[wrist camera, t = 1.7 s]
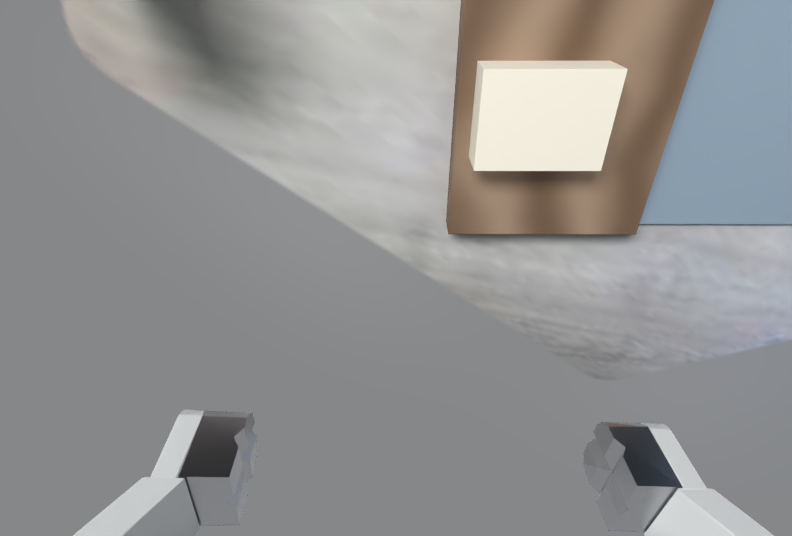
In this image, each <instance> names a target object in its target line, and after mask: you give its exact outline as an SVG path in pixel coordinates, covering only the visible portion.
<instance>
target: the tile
mask: <svg viewBox="0 0 792 536" xmlns="http://www.w3.org/2000/svg"><path fill="white" fill-rule="evenodd" d="M627 70H628V69H627V68H625V67H623V66H621V65H619V64H617V63H614V62H612V61H477V72H476V83H475V94H474V105H473V116H472V127H471V138H470V149H469V159H470V162H471V164H472V167H473V170H474V171H601V169H602V165H603V161H604V157H605V154H606V150H607V146H608V142H609V138H610V135H611V131H612V127H613V123H614V119H615V116H616V112H617V108H618V104H619V100H620V96H621V93H622V89H623V85H624V81H625V77H626V74H627Z"/></svg>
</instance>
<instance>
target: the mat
mask: <svg viewBox="0 0 792 536" xmlns="http://www.w3.org/2000/svg"><path fill="white" fill-rule="evenodd" d="M639 224H792V0H714V3H713V6H712V9H711V12H710V15H709V18H708V20H707V23H706V26H705V29H704V32H703V35H702V38H701V41H700V44H699V47H698V50H697V53H696V56H695V59H694V62H693V65H692V68H691V71H690V74H689V77H688V80H687V83H686V86H685V89H684V92H683V95H682V98H681V101H680V104H679V107H678V110H677V113H676V116H675V119H674V122H673V125H672V128H671V131H670V134H669V137H668V140H667V143H666V146H665V149H664V152H663V155H662V158H661V161H660V164H659V166H658V169H657V172H656V175H655V178H654V181H653V184H652V187H651V190H650V193H649V196H648V199H647V202H646V205H645V208H644V211H643V214H642V217H641V220H640V223H639Z"/></svg>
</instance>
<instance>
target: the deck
mask: <svg viewBox="0 0 792 536" xmlns="http://www.w3.org/2000/svg"><path fill="white" fill-rule="evenodd" d="M713 3H714V0H461V10H460V24H459V39H458V54H457V69H456V84H455V99H454V114H453V129H452V143H451V158H450V173H449V188H448V203H447V218H446V223H447V228H448V234H636V232H637V229H638V226H639V223H640V220H641V217H642V214H643V211H644V208H645V205H646V202H647V199H648V196H649V193H650V190H651V187H652V184H653V181H654V178H655V175H656V172H657V169H658V166H659V164H660V161H661V158H662V155H663V152H664V149H665V146H666V143H667V140H668V137H669V134H670V131H671V128H672V125H673V122H674V119H675V116H676V113H677V110H678V107H679V104H680V101H681V98H682V95H683V92H684V89H685V86H686V83H687V80H688V77H689V74H690V71H691V68H692V65H693V62H694V59H695V56H696V53H697V50H698V47H699V44H700V41H701V38H702V35H703V32H704V29H705V26H706V23H707V20H708V18H709V15H710V12H711V9H712V6H713ZM477 61H612V62H614V63H617V64H619V65H621V66H623V67H625V68H627V69H628V70H627V74H626V77H625V81H624V85H623V89H622V93H621V96H620V100H619V104H618V108H617V112H616V116H615V119H614V123H613V127H612V131H611V135H610V138H609V142H608V146H607V150H606V154H605V157H604V161H603V165H602V169H601V171H474V170H473V167H472V164H471V162H470V159H469V149H470V138H471V127H472V116H473V105H474V94H475V83H476V72H477Z"/></svg>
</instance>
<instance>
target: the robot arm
mask: <svg viewBox="0 0 792 536" xmlns="http://www.w3.org/2000/svg"><path fill="white" fill-rule="evenodd" d="M253 426H254V417H253V413H245V412H227V411H207V410H183V411H182V413H180V415H179V416H178V418H177V420H176V422H175V424H174V426H173V429H172V431H171V433H170V435H169V437H168V440H167V442H166V444H165V446H164V448H163V450H162V453H161V455H160V457H159V459H158V461H157V464H156V466H155V468H154V470H153V472H152V475H151V477H143V478H142V479H140V480H139V481H138V482H137V483H136V484H135V485H133V486H132V487H131V488H130V489H128V490H127V491H126V492H125V493H124V494H122V495H121V496H120V497H119V498H118V499H116V500H115V501H114V502H113V503H112V504H110V505H109V506H108V507H107V508H106V509H104V511H102V512H101V513H100V514H98V515H97V516H96V517H95V518H94V519H92V520H91V521H90V522H89V523H88V524H86V525H85V526H84V527H83V528H81V529H80V530H79V531H78V532H77V533H76V534H74V535H73V536H194V535H195V534H196V533H197V532H198V530H199V529H200V526H221V525H223V526H225V525H226V526H227V525H240V523H241V519H242V515H243V512H244V508H245V503H246V500H247V496H248V495H247V489H246V482H247V481H248V480H249V479H250V478H251V477H252V476H253V472H254V468H255V463H256V457H257V435H256V434H255V433H254V432H253V431H252V429H253ZM594 434H595V436H596V438H595V439H594V440H592V441H591V442H589V443H588V444H587V446H586V449H585V451H584V468H585V473H586V475H587V478H588V481H589V483H590V485H592V486H593V487H594V488H595V489H596V490H597V491H598V492H599V496H598V500H597V504H598V506H599V509H600V511H601V514H602V516H603V519H604V521H605V524H606V526H607V528H608V531H625V532H626V531H627V532H645V534H644V535H645V536H773V535H772V534H771V533H770V532H768V531H767V530H766V529H764V528H763V527H762V526H760V525H759V524H758V523H757V522H755V521H754V520H753V519H751V518H750V517H749V516H748V515H746V514H745V513H744V512H742V511H741V510H740V509H738V508H737V507H736V506H735V505H733V504H732V503H731V502H729V501H728V500H727V499H726V498H724V497H723V496H722V495H720V494H719V493H718V492H716V491H715V490H714V489H707V488H706V486H705V485H704V483H703V481H702V480H701V478H700V477H699V475H698V473H697V472H696V470H695V469H694V467H693V465H692V464H691V462H690V461H689V459H688V457H687V456H686V454H685V453H684V451H683V449H682V448H681V446H680V445H679V443H678V441H677V440H676V438H675V436H674V435H673V433H672V432H671V430H670V429H669V428H668V427H667V426H666V425H665V424H646V423H645V424H644V423H643V424H641V423H621V422H620V423H619V422H601V423H600V424H598V425H597V426H596V428H595V430H594Z"/></svg>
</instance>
